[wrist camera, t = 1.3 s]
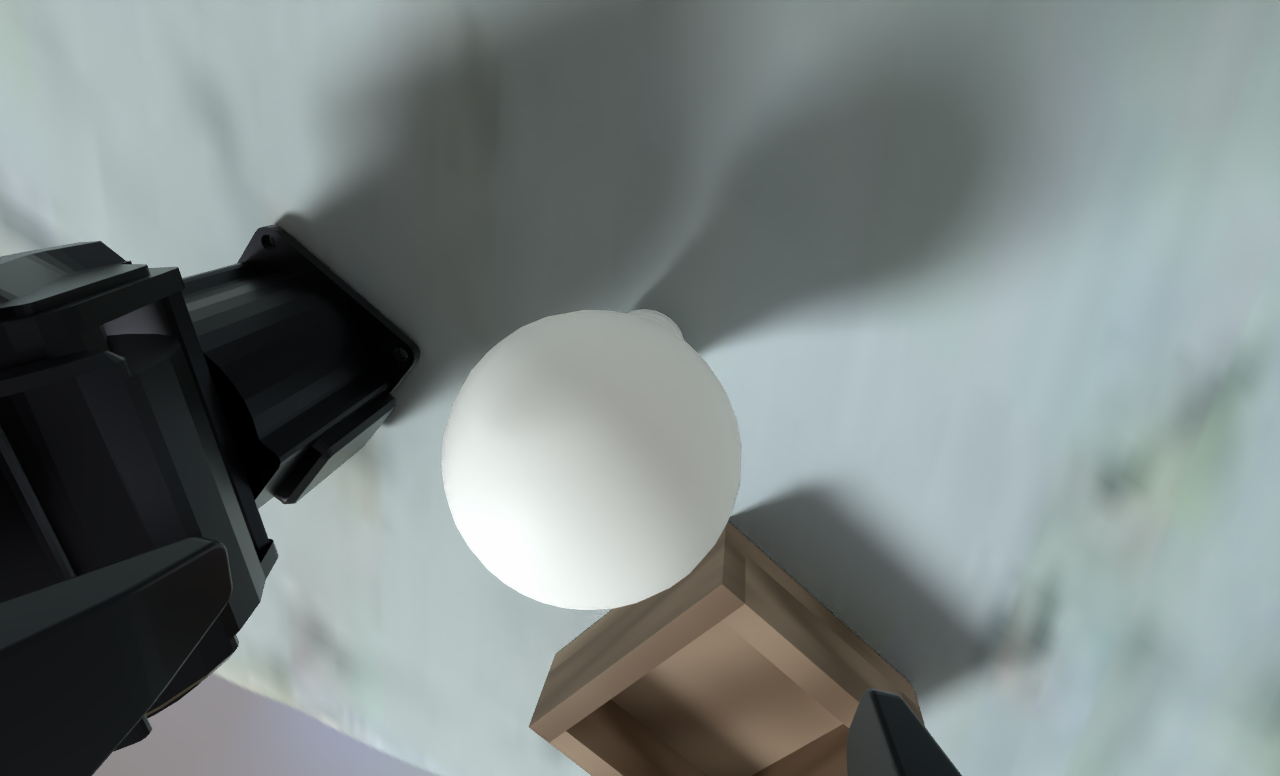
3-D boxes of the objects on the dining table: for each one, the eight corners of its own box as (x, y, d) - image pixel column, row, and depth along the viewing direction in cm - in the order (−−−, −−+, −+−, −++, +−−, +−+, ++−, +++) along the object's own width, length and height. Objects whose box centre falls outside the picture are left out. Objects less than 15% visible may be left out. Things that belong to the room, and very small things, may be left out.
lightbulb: (521, 324, 21) (311, 503, 11) (661, 202, 19) (560, 288, 9) (639, 456, 22) (547, 728, 12) (783, 356, 20) (818, 588, 10)
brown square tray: (555, 654, 26) (528, 727, 23) (726, 519, 23) (721, 583, 19) (725, 790, 28) (722, 876, 25) (913, 685, 24) (938, 771, 21)
